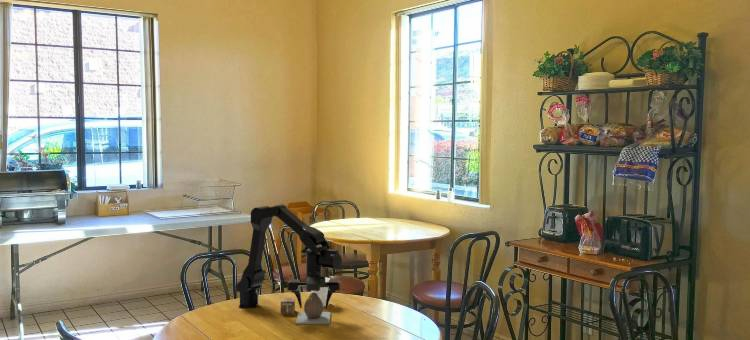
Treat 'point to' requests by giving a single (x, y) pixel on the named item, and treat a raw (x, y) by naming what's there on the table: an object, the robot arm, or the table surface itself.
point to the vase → (313, 306)
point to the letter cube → (287, 305)
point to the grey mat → (305, 320)
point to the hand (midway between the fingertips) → (313, 307)
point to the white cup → (322, 293)
